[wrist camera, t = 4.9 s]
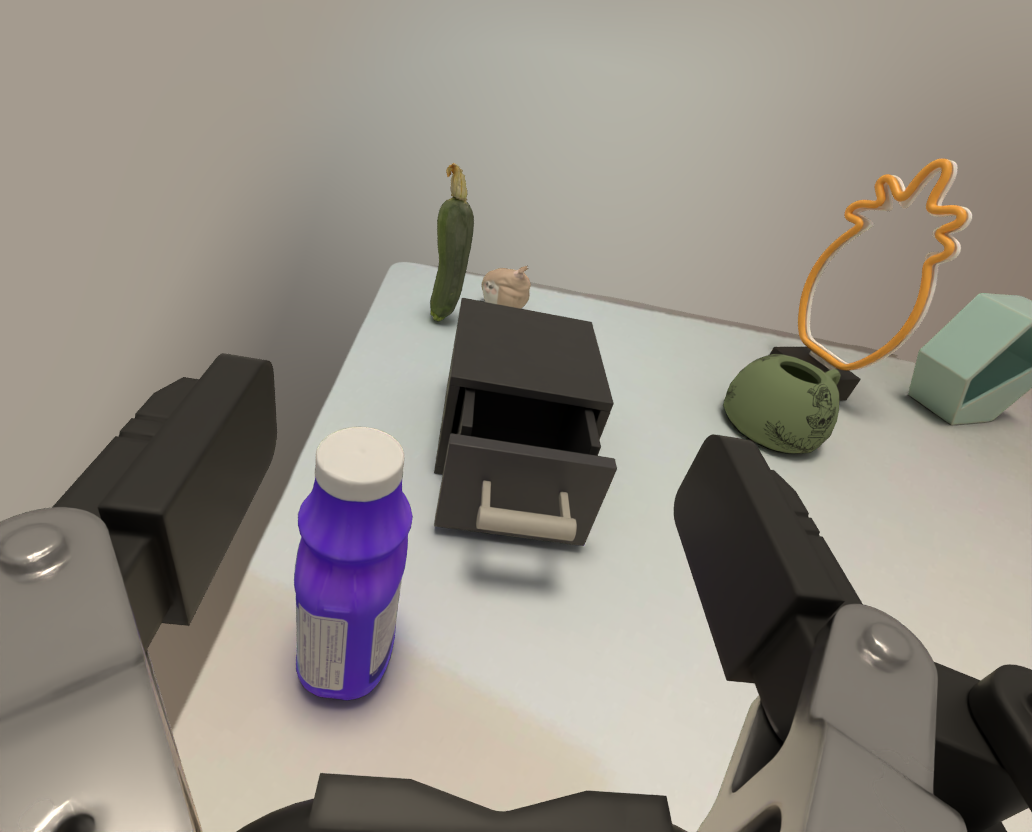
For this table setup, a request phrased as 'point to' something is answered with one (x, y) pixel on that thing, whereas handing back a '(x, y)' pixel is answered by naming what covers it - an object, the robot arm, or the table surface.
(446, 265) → the vegetable
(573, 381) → the cabinet
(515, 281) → the round shiba plush toy
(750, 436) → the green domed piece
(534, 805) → the robot arm
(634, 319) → the table surface
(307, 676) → the bottle
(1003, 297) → the green magazine holder
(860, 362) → the lamp
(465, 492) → the drawer
